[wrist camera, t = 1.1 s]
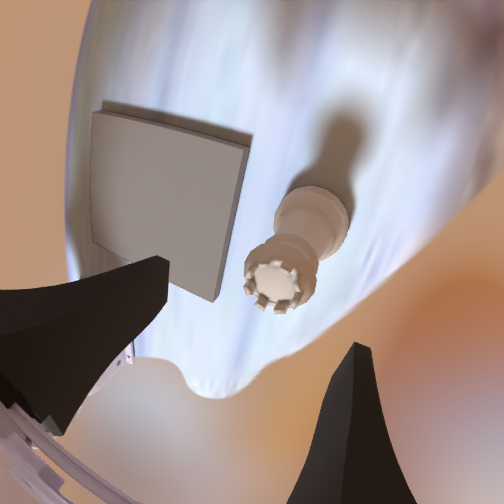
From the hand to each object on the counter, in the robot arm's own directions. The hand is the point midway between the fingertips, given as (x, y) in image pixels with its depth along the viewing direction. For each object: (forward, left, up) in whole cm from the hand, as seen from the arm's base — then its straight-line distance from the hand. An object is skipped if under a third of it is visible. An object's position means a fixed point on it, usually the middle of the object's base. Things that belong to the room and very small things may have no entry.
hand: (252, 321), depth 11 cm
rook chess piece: (0, 0, -10) cm, 10 cm away
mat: (-3, +12, -10) cm, 16 cm away
